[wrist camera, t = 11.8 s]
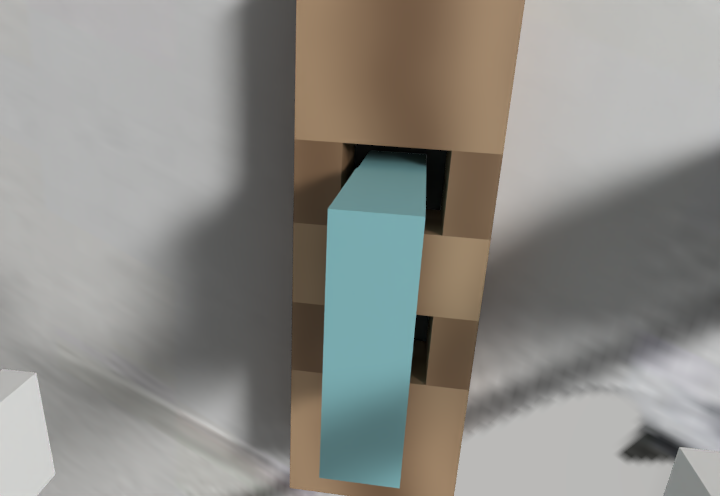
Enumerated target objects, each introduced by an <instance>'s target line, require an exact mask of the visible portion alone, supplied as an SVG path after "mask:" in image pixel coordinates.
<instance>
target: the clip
mask: <svg viewBox="0 0 720 496" xmlns="http://www.w3.org/2000/svg"><path fill="white" fill-rule="evenodd" d="M426 156H427V154H418V153H403V152H389V151H375V150H370V151H369V152H368V154H367V155H366V157H365V158H364V160H363V161H362V163H361V164H360V166H359V167H358V168H356V169H355V170H354V172H353V173H352V175H351V176H350V178H349V179H348V181H347V182H346V183H345V185H344V186H343V188H342V189H341V191H340V192H339V193H338V195H337V196H336V198H335V199H334V201H333V202H332V204H331V205H330V206H329V208H328V219H327V250H326V282H325V313H324V344H323V376H322V407H321V439H320V470H319V478H324V479H332V480H339V481H347V482H355V483H362V484H370V485H377V486H385V487H392V488H400V479H401V468H402V458H403V447H404V437H405V426H406V416H407V405H408V395H409V384H410V374H411V363H412V353H413V342H414V332H415V321H416V311H417V301H418V290H419V280H420V269H421V259H422V248H423V238H424V227H425V216H426Z"/></svg>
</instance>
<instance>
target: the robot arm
mask: <svg viewBox="0 0 720 496" xmlns="http://www.w3.org/2000/svg"><path fill="white" fill-rule="evenodd" d="M54 475H55V469H54V464H53V458H52V453H51V448H50V442H49V437H48V432H47V427H46V421H45V416H44V411H43V405H42V400H41V395H40V390H39V384H38V379H37V374H36V373H35V372H26V371H17V370H9V369H2V370H1V371H0V496H37V495H38V494H39V493H40V492H41V490H42V489H43V488H44V487H45V486H46V485H47V484H48V482H49V481H50V480H51V479H52V478H53V477H54ZM664 496H720V452H718V451H709V450H701V449H692V448H683V447H679V450H678V453H677V456H676V459H675V462H674V465H673V468H672V471H671V474H670V478H669V481H668V484H667V487H666V490H665V493H664Z"/></svg>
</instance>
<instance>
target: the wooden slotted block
mask: <svg viewBox="0 0 720 496" xmlns="http://www.w3.org/2000/svg"><path fill="white" fill-rule="evenodd" d="M524 4H525V0H296V64H295V139H294V214H293V289H292V364H291V439H290V488H294V489H302V490H309V491H316V492H324V493H331V494H338V495H345V496H454V491H455V484H456V477H457V470H458V463H459V456H460V449H461V442H462V435H463V428H464V421H465V414H466V407H467V400H468V393H469V386H470V379H471V372H472V365H473V359H474V352H475V345H476V338H477V331H478V324H479V317H480V310H481V303H482V296H483V289H484V282H485V275H486V268H487V261H488V254H489V247H490V240H491V233H492V226H493V219H494V212H495V205H496V198H497V191H498V185H499V178H500V171H501V164H502V157H503V150H504V143H505V136H506V129H507V122H508V115H509V108H510V101H511V94H512V87H513V80H514V73H515V66H516V59H517V52H518V45H519V38H520V31H521V24H522V17H523V10H524ZM355 144H367V145H381V146H394V147H408V148H422V149H435V150H447V153H446V162H445V172H444V181H443V190H442V199H441V209H440V210H433V209H426V216H425V227H424V238H423V248H422V259H421V269H420V280H419V290H418V301H417V311H416V315H424V316H429V319H428V328H427V338H426V341H419V340H414V342H413V353H412V363H411V374H410V384H409V395H408V405H407V416H406V426H405V437H404V447H403V458H402V468H401V479H400V488H392V487H385V486H377V485H370V484H362V483H355V482H347V481H339V480H332V479H324V478H319V470H320V439H321V407H322V376H323V344H324V313H325V282H326V250H327V219H328V208H329V206H330V205H331V204H332V202H333V201H334V199H335V198H336V196H337V195H338V193H339V192H340V191H341V189H342V188H343V186H344V185H345V183H346V182H347V181H348V179H349V178H350V176H351V175H352V173H353V172H354V156H355Z"/></svg>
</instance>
